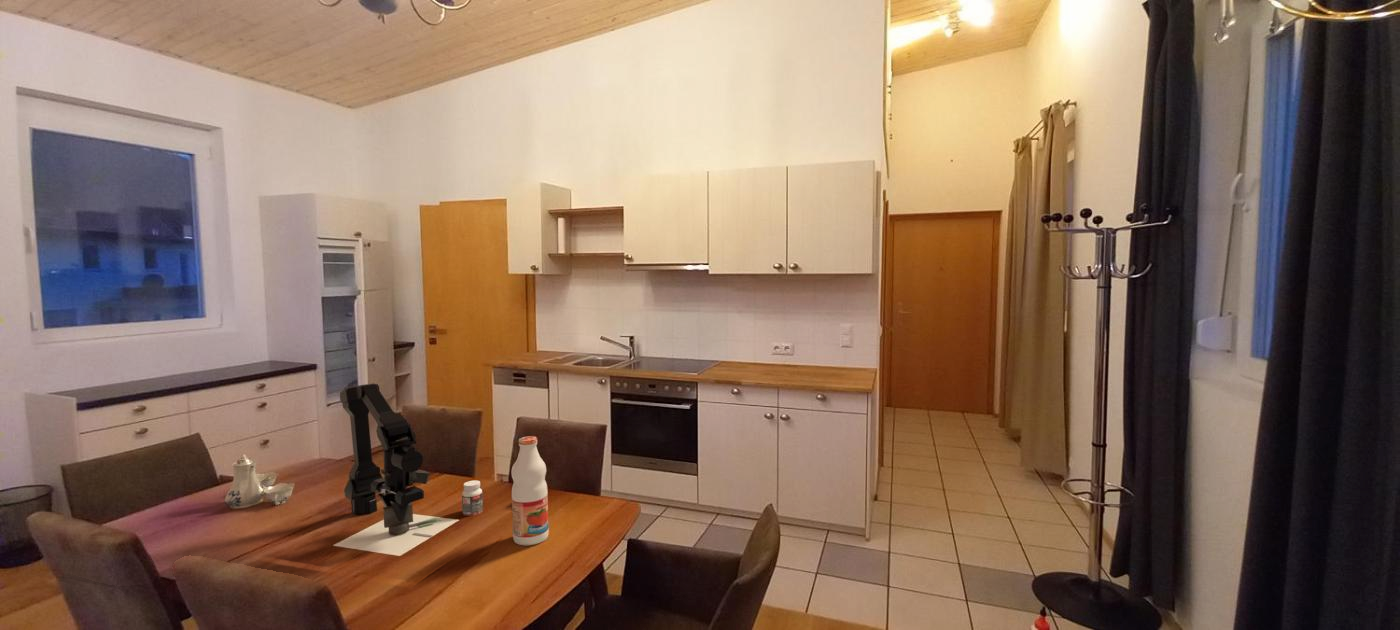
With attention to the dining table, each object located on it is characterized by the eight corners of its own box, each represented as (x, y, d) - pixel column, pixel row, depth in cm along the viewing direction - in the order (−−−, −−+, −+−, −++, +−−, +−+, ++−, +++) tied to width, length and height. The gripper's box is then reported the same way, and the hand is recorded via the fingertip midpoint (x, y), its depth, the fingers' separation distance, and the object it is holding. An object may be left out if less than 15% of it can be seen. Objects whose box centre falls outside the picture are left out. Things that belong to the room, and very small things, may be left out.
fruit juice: (526, 528, 160) (523, 432, 158) (555, 533, 157) (552, 435, 155) (505, 543, 151) (502, 442, 149) (536, 548, 148) (532, 444, 146)
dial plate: (333, 549, 149) (332, 544, 149) (398, 515, 170) (398, 511, 170) (400, 559, 143) (399, 555, 143) (459, 523, 164) (459, 519, 164)
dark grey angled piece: (385, 537, 153) (384, 511, 152) (384, 530, 157) (382, 505, 156) (437, 525, 160) (436, 501, 159) (434, 519, 164) (433, 495, 164)
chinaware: (305, 506, 183) (308, 454, 183) (242, 519, 169) (245, 464, 169) (268, 489, 198) (271, 442, 198) (208, 500, 184) (211, 449, 184)
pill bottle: (475, 519, 167) (474, 487, 166) (458, 518, 168) (457, 485, 167) (486, 511, 172) (485, 480, 172) (470, 510, 173) (469, 479, 173)
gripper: (441, 463, 156) (443, 517, 157) (408, 451, 168) (410, 502, 169) (400, 474, 148) (403, 532, 149) (368, 461, 159) (371, 515, 160)
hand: (398, 519), depth 157 cm, fingers closed on dark grey angled piece, 3 cm apart
